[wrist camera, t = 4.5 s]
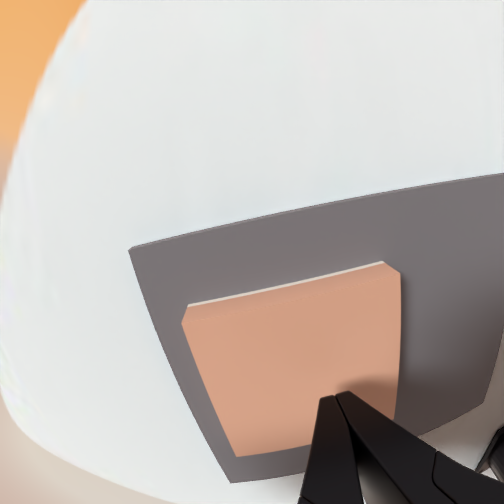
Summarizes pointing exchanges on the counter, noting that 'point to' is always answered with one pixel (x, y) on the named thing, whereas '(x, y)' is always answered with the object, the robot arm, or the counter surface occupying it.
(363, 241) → the mat
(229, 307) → the tile
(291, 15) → the counter surface
